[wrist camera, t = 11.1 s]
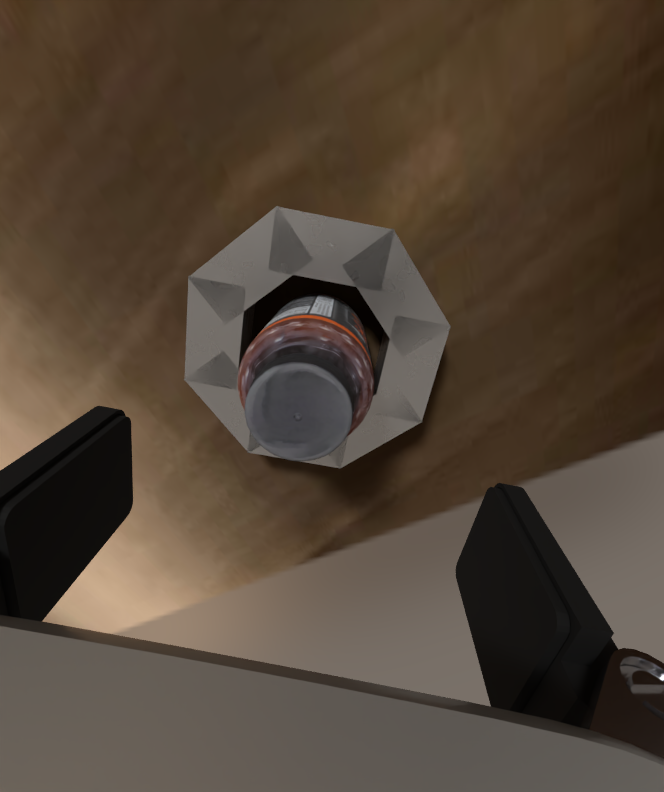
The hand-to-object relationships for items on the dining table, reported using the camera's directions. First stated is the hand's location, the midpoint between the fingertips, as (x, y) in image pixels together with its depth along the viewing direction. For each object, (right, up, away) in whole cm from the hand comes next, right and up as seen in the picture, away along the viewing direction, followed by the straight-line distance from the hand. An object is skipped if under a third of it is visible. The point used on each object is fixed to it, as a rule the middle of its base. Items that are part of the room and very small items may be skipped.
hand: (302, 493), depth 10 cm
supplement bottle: (0, +6, +15) cm, 16 cm away
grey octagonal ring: (0, +6, +14) cm, 16 cm away
